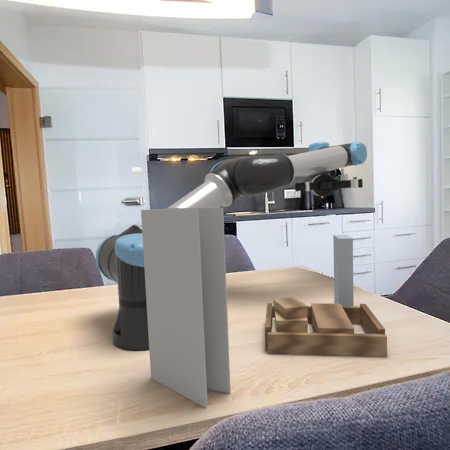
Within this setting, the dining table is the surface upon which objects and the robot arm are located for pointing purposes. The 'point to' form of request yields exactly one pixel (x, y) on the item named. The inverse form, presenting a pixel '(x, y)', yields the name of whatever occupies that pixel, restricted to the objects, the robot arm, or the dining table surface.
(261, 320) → the dining table surface
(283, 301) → the offcut top
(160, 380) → the brochure
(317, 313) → the tray
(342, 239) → the grey rectangular block
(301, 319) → the plate
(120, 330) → the robot arm
